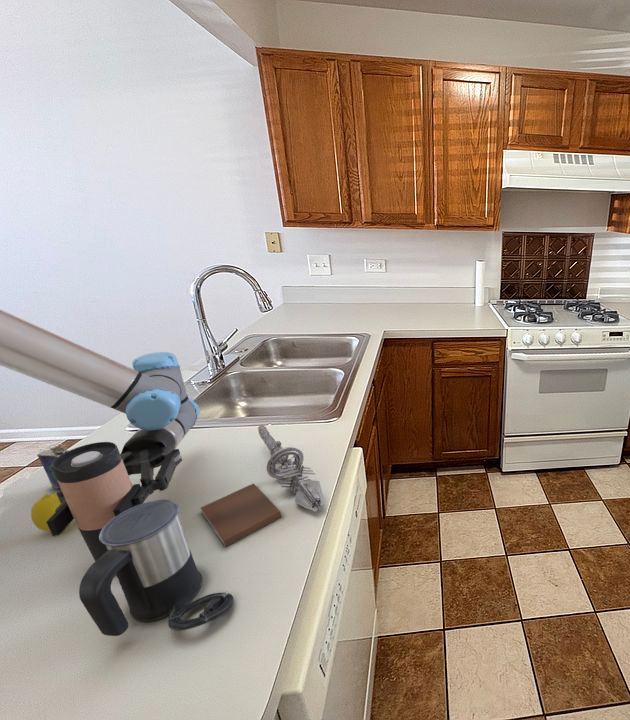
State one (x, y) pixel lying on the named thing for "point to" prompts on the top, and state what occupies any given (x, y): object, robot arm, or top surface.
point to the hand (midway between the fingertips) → (86, 522)
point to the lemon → (44, 510)
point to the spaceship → (292, 472)
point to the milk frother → (147, 572)
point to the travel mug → (92, 488)
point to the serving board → (240, 514)
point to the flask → (46, 461)
